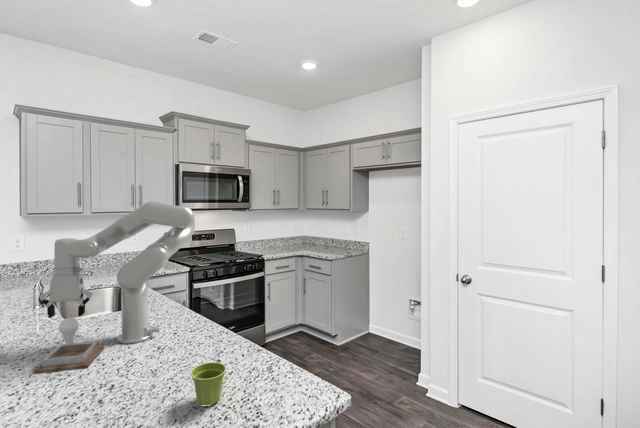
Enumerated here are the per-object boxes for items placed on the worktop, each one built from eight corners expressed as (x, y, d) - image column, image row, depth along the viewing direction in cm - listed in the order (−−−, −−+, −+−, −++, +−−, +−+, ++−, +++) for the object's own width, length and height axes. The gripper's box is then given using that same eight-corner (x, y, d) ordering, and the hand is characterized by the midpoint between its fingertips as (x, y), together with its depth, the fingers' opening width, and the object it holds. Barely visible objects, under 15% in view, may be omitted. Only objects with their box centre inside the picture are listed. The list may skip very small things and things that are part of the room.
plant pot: (230, 390, 98) (229, 361, 98) (221, 410, 89) (221, 378, 89) (197, 391, 98) (197, 362, 98) (185, 411, 89) (185, 379, 88)
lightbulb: (76, 341, 133) (75, 314, 132) (81, 346, 129) (80, 317, 128) (57, 347, 128) (56, 318, 127) (62, 351, 124) (61, 322, 124)
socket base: (104, 348, 126) (104, 346, 126) (87, 367, 112) (87, 364, 112) (57, 353, 123) (57, 350, 123) (34, 373, 108) (34, 370, 108)
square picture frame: (98, 348, 125) (97, 341, 124) (84, 363, 113) (83, 356, 113) (60, 351, 121) (60, 345, 121) (42, 367, 110) (42, 360, 110)
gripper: (96, 268, 133) (96, 311, 133) (45, 269, 129) (45, 314, 129) (88, 272, 126) (88, 318, 126) (34, 273, 121) (33, 320, 122)
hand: (66, 316), depth 128 cm, fingers open, 9 cm apart
